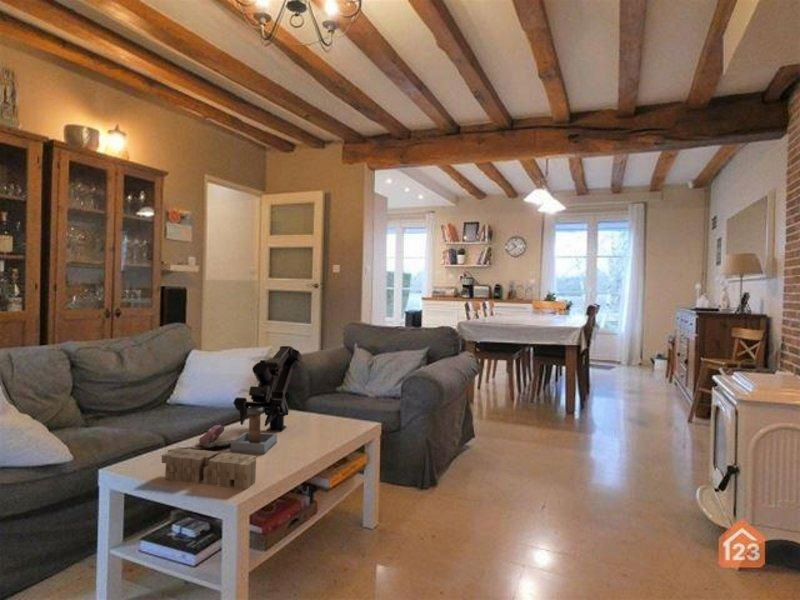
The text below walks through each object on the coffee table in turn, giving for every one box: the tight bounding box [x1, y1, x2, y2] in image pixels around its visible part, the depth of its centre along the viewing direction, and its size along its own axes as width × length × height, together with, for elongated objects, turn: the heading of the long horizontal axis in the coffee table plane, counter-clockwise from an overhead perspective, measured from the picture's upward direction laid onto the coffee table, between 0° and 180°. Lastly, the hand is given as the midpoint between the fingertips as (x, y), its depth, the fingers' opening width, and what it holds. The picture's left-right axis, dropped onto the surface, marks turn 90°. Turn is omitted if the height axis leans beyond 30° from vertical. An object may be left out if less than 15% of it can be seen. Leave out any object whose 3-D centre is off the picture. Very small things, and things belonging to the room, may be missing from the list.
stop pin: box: [247, 407, 264, 443], centre depth 179 cm, size 6×6×14 cm
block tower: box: [161, 446, 257, 490], centre depth 149 cm, size 8×8×29 cm
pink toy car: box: [198, 424, 225, 444], centre depth 187 cm, size 10×5×7 cm, turn 169°
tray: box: [230, 431, 278, 455], centre depth 179 cm, size 13×13×4 cm
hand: (253, 425), depth 178 cm, fingers open, 9 cm apart
